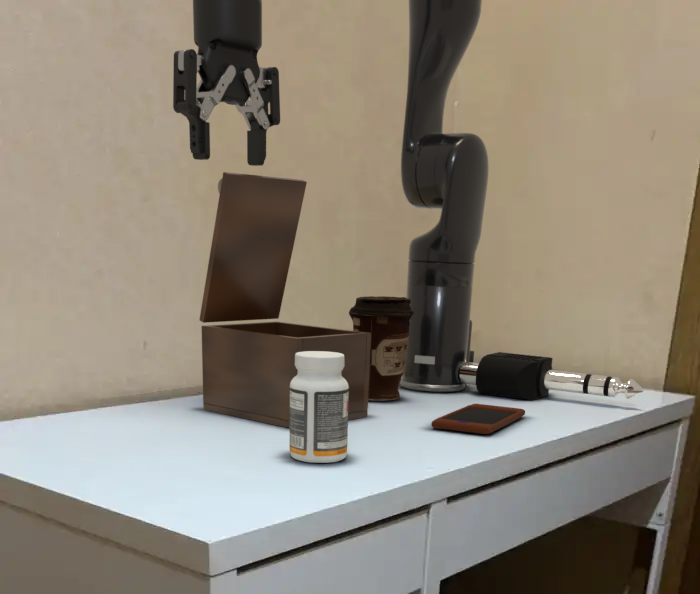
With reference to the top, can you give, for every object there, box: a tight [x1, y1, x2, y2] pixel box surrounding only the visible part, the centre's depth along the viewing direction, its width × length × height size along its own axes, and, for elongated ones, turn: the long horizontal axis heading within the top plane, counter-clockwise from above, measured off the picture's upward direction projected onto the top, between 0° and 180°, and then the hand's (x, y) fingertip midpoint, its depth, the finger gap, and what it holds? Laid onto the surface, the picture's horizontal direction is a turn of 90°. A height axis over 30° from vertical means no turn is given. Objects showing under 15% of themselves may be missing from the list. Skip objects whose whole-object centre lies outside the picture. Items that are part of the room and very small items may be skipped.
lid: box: [198, 171, 308, 324], centre depth 111 cm, size 16×13×5 cm
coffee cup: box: [348, 295, 414, 401], centre depth 124 cm, size 9×8×13 cm
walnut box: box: [201, 320, 371, 429], centre depth 112 cm, size 16×13×10 cm
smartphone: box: [430, 403, 526, 435], centre depth 112 cm, size 7×1×15 cm
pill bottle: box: [288, 351, 349, 464], centre depth 90 cm, size 6×6×10 cm
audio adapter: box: [459, 351, 644, 401], centre depth 131 cm, size 11×5×25 cm
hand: (229, 162), depth 109 cm, fingers open, 8 cm apart
